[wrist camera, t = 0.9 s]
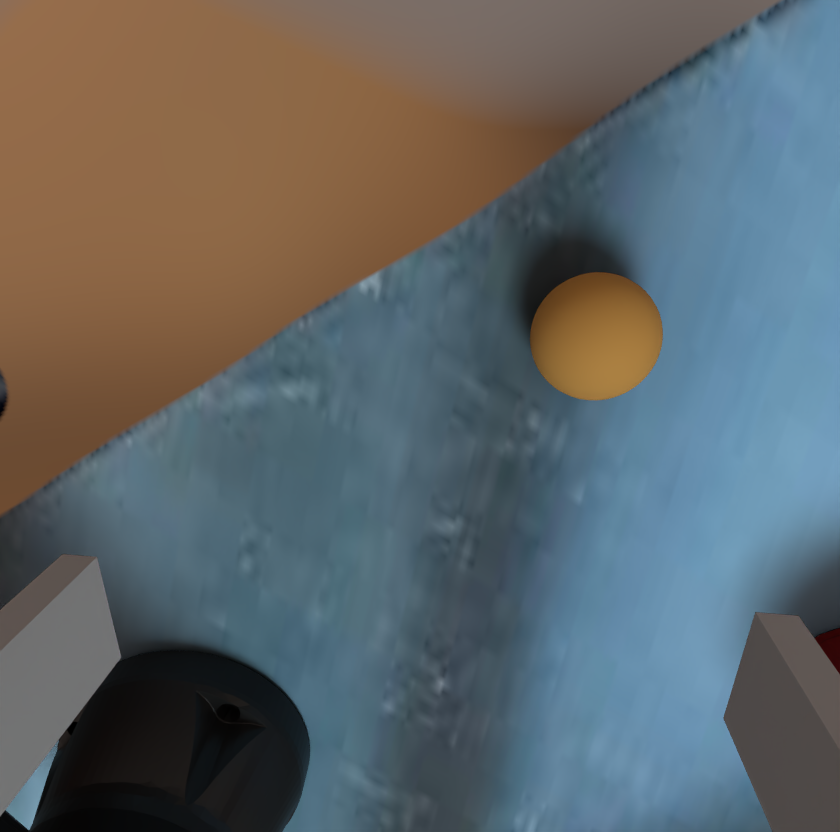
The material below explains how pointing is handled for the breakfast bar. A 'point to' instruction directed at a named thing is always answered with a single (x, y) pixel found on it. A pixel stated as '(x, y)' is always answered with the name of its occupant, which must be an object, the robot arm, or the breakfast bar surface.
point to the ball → (596, 336)
